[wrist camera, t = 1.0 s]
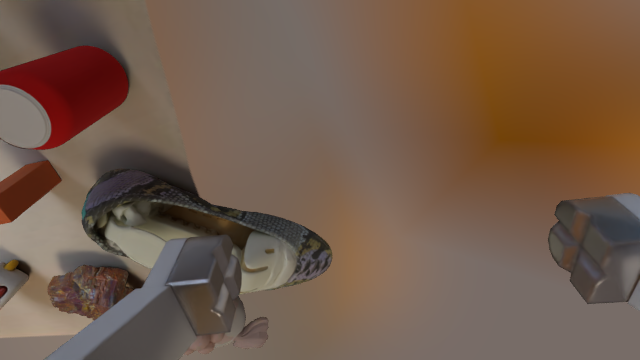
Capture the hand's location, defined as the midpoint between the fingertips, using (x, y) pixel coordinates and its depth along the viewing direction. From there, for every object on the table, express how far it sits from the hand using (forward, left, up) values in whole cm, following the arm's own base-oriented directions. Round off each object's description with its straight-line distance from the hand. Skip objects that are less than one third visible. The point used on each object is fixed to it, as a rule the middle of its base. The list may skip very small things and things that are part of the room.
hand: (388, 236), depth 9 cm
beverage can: (-2, -24, -29) cm, 38 cm away
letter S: (+7, -36, -29) cm, 46 cm away
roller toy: (+20, -49, -29) cm, 60 cm away
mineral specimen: (+24, -37, -29) cm, 53 cm away
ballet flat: (+19, -19, -30) cm, 40 cm away
